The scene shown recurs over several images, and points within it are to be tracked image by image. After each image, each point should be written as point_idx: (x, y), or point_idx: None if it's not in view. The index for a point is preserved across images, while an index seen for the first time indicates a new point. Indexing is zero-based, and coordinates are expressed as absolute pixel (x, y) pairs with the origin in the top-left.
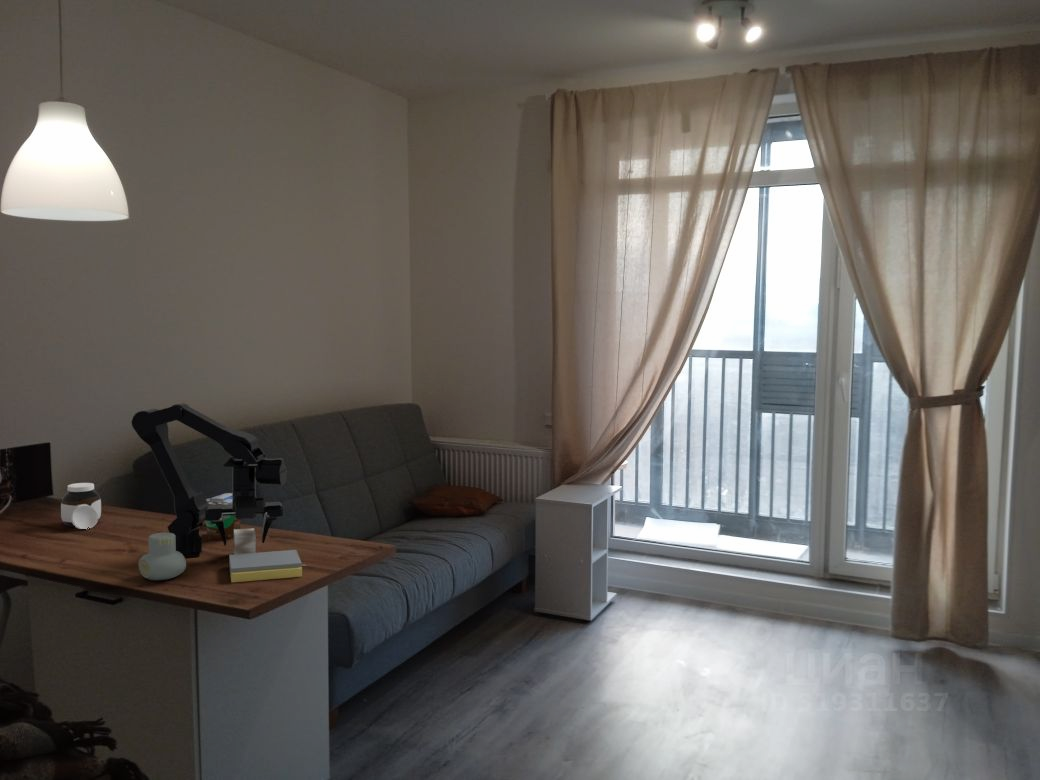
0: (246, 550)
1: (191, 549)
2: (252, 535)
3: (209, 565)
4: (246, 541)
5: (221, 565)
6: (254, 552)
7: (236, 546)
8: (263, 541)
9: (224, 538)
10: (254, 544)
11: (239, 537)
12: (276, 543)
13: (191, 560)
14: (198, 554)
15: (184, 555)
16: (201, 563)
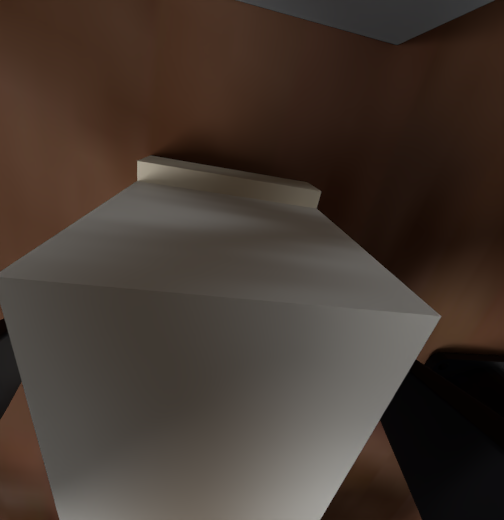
0: (222, 203)
1: (490, 394)
2: (83, 275)
3: (482, 167)
4: (223, 240)
5: (423, 125)
6: (144, 186)
7: (334, 237)
8: (5, 322)
9: (442, 389)
10: (114, 208)
11: (346, 294)
12: (13, 445)
13: (491, 309)
14: (442, 362)
15: (499, 365)
16: (490, 235)
